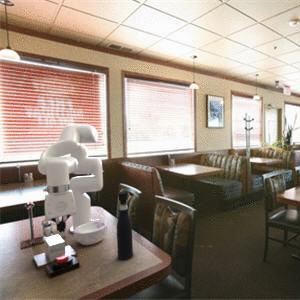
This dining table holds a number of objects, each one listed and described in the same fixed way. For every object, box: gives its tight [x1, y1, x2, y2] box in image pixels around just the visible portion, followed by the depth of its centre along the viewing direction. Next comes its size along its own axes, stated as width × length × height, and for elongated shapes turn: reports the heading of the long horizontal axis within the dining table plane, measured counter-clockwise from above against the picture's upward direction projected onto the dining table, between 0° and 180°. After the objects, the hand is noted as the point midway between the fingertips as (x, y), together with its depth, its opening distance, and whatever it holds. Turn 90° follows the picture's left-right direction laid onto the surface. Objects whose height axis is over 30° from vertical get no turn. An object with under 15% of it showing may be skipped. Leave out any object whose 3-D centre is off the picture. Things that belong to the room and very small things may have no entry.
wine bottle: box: [116, 191, 134, 261], centre depth 106 cm, size 6×6×30 cm
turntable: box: [32, 245, 78, 270], centre depth 106 cm, size 14×12×2 cm
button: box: [56, 254, 68, 263], centre depth 97 cm, size 4×4×2 cm
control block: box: [45, 256, 80, 279], centre depth 98 cm, size 10×8×4 cm
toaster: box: [43, 234, 66, 261], centre depth 106 cm, size 11×6×7 cm, turn 47°
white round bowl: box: [73, 221, 108, 246], centre depth 123 cm, size 15×15×8 cm
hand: (61, 231), depth 99 cm, fingers closed
